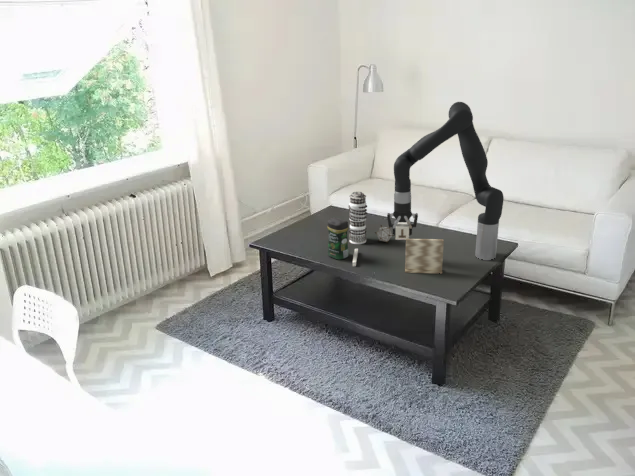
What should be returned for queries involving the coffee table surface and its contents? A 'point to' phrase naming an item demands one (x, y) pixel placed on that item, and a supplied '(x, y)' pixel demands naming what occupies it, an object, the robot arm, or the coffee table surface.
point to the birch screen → (424, 255)
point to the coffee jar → (337, 238)
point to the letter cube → (402, 231)
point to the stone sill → (355, 257)
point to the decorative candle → (357, 218)
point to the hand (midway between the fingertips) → (402, 235)
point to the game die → (384, 234)
